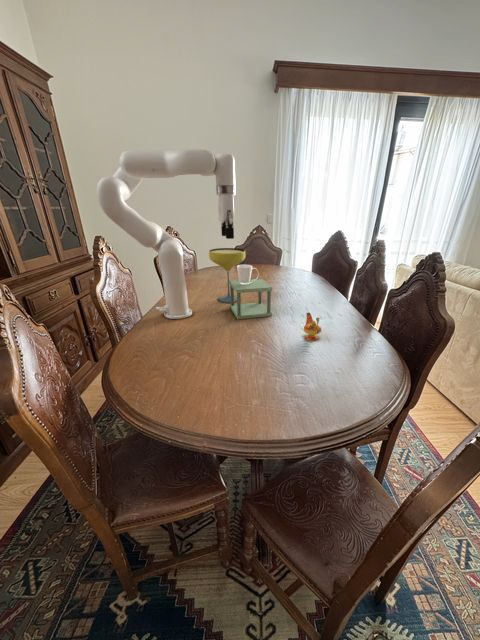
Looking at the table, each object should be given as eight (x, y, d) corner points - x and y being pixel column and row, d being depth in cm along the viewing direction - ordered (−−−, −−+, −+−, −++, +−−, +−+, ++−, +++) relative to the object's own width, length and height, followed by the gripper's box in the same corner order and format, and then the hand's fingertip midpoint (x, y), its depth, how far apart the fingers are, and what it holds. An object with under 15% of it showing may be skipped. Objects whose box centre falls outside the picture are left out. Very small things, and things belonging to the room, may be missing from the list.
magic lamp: (314, 327, 122) (317, 302, 117) (324, 346, 106) (328, 318, 101) (298, 327, 121) (300, 302, 116) (306, 346, 105) (309, 318, 100)
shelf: (237, 319, 128) (236, 289, 122) (230, 307, 142) (229, 280, 135) (271, 316, 132) (272, 287, 126) (261, 305, 146) (261, 278, 140)
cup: (236, 282, 133) (235, 264, 129) (257, 281, 134) (257, 264, 131) (237, 286, 126) (237, 267, 123) (260, 285, 128) (260, 267, 124)
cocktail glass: (252, 298, 156) (252, 250, 144) (232, 307, 142) (230, 255, 130) (226, 292, 164) (224, 246, 152) (204, 300, 150) (200, 251, 139)
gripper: (213, 191, 120) (215, 235, 128) (220, 190, 105) (222, 239, 113) (230, 191, 122) (232, 234, 130) (240, 191, 107) (241, 239, 115)
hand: (227, 237), depth 122 cm, fingers open, 9 cm apart
